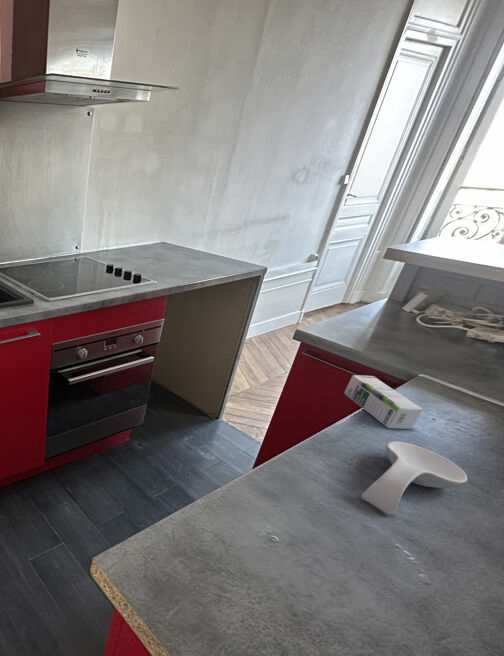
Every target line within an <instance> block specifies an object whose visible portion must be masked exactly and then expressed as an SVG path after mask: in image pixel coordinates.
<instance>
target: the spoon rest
mask: <svg viewBox="0 0 504 656" xmlns="http://www.w3.org/2000/svg"><path fill="white" fill-rule="evenodd" d="M385 451H386V455H387V458H388V460H389V462H390V464H391V466H389V468H388V469H387V470H386V471H385V472H384V473H383V474H382V475H381V476H380V477H379V478H377V479H376V480H375V481H374V482H373V483H372V484H370V485H369V486H368V487H367V489H366V490H364V491H363V493H362V494H361V497H360V498H361V499H362V500H364V501H365V502H368V503H369V504H371V506H374V507H375V508H377V509H379V510H380V511H382V512H384V513H385V514H387V515H390V516H394V514H395V512H396V510H397V508H398V506H399V503H400V501H401V499H402V496H403V494H404V492H406V491H405V490H406V489H407V488H408V487H409V485H410V484H411V483H413V484H414V485H418V486H422V487H426V488H437V489H448V488H455V487H459V486H461V485H463V484H465V483H466V482H467V481H468V475H467V474H466V472H465V471H464V470H463V469H462V468H461V467H460V466H459V465H457V464H456V463H454V462H453V461H451V460H450V459H448V458H446V457H445V456H443V455H440V454H438V453H436V452H434V451H431V450H429V449H427V448H426V447H422V446H419V445H416V444H413V443H410V442H406V441H405V442H404V441H398V440H397V441H396V440H395V441H389V442H387V444H386V445H385Z"/></svg>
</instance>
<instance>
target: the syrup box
mask: <svg viewBox="0 0 504 656" xmlns="http://www.w3.org/2000/svg"><path fill="white" fill-rule="evenodd" d="M343 394H344V395H345V396H346V397H347V398H349V399H350V400H351V401H353V402H354V403H355V404H357V405H358V406H359V407H360V408H362V409H363V410H364V411H366V412H367V413H368V414H369V415H370V416H372V417H374V418H375V419H376V420H377V421H379V423H381V424H382V425H383V426H385V427H386V428H387V429H396V430H397V429H400V430H401V429H402V430H403V429H404V430H408V429H409V430H411V429H412V428H413V426H415V423H416V421H417V420H418V418H419V417H420V415H421V413H422V412H423V408H422V407H420V406H418V405H417V404H416V403H414V402H412V401H411V400H410V399H408V398H406V397H405V396H404V395H402V394H401V393H399V392H398V391H396V390H395V389H394V388H391V387H390V386H389V385H387V384H386V383H385V382H383V381H381V379H379V378H377V377H376V376H374V375H363V374H361V375H360V374H359V375H357V374H356V375H351V378H350V380H349V382H348V384H347V386H346V388H345V390H344V392H343Z"/></svg>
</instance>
